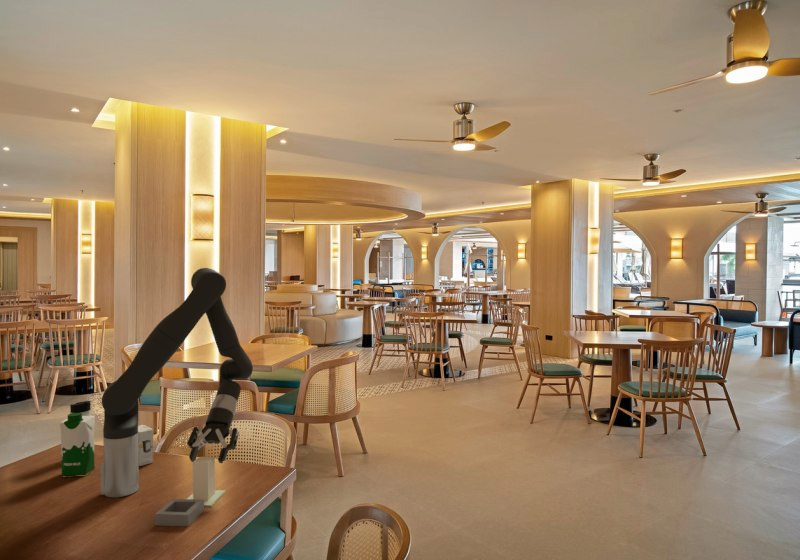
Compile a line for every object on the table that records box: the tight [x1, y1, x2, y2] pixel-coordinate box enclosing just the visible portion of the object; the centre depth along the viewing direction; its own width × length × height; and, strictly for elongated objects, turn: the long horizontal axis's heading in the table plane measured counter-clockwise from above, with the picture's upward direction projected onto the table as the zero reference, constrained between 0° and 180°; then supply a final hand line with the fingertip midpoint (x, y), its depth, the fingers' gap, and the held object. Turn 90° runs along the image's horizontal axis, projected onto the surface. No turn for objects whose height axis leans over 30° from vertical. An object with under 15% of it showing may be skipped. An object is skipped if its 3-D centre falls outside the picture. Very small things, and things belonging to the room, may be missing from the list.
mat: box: [186, 489, 227, 508], centre depth 153 cm, size 9×10×1 cm
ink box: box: [138, 424, 154, 467], centre depth 182 cm, size 9×5×12 cm, turn 50°
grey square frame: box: [154, 498, 205, 527], centre depth 141 cm, size 9×9×3 cm
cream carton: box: [192, 456, 216, 500], centre depth 153 cm, size 4×4×11 cm
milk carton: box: [59, 413, 96, 477], centre depth 172 cm, size 9×9×20 cm
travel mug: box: [69, 400, 92, 416], centre depth 187 cm, size 6×7×20 cm
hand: (206, 461), depth 154 cm, fingers open, 8 cm apart
